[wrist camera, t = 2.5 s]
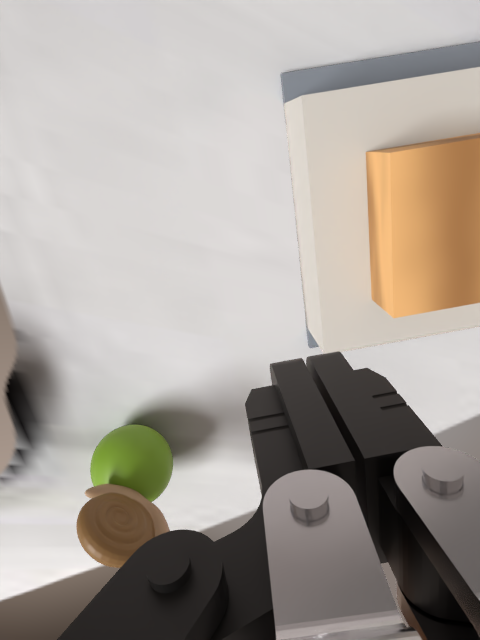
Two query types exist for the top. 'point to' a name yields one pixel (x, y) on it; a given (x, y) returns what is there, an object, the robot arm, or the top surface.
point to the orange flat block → (425, 225)
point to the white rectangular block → (364, 197)
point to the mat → (378, 76)
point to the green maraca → (125, 494)
